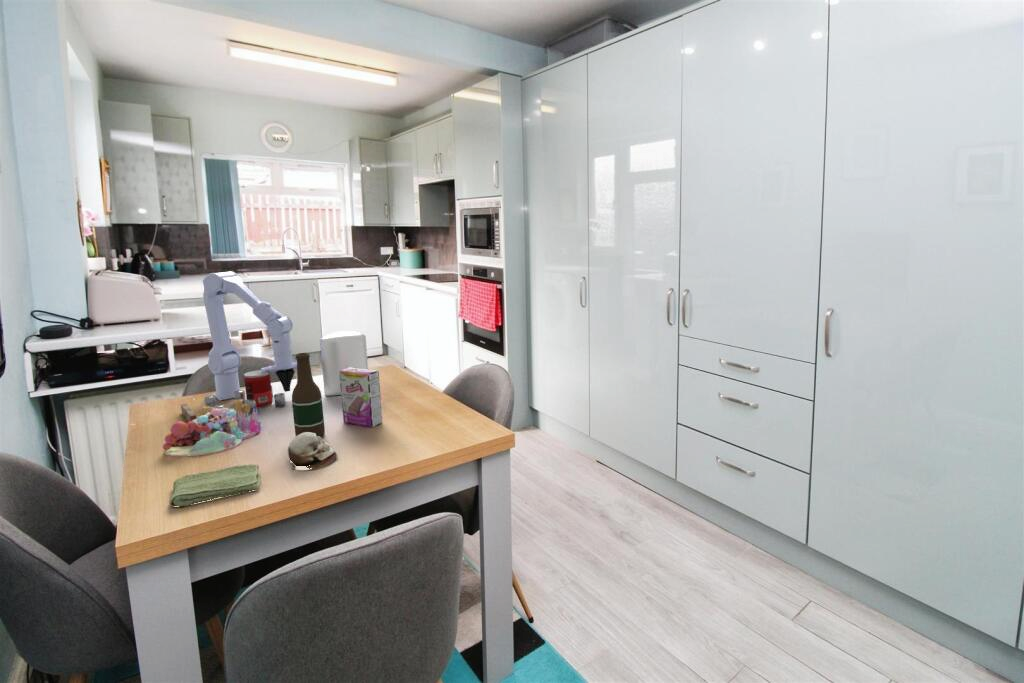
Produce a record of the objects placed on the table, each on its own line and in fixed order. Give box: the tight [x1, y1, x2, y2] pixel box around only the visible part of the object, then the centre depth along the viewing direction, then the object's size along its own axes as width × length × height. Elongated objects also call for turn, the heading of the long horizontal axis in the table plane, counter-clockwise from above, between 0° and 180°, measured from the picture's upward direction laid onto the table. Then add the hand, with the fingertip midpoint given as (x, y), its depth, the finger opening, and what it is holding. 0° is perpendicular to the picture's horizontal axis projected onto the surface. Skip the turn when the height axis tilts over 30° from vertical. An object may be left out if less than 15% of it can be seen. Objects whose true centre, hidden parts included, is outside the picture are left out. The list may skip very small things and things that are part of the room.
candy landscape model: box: [162, 399, 262, 457], centre depth 153 cm, size 25×24×9 cm
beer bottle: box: [291, 352, 326, 439], centre depth 150 cm, size 8×8×24 cm
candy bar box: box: [339, 367, 383, 428], centre depth 161 cm, size 11×5×16 cm, turn 65°
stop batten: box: [180, 403, 197, 422], centre depth 170 cm, size 16×2×3 cm, turn 40°
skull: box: [287, 432, 338, 470], centre depth 136 cm, size 12×10×10 cm
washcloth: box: [168, 463, 261, 508], centre depth 122 cm, size 13×18×3 cm
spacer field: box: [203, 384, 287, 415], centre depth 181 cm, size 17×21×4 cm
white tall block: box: [319, 330, 369, 397], centre depth 196 cm, size 15×14×22 cm
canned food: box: [243, 369, 273, 409], centre depth 183 cm, size 8×8×11 cm
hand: (286, 390), depth 189 cm, fingers closed
